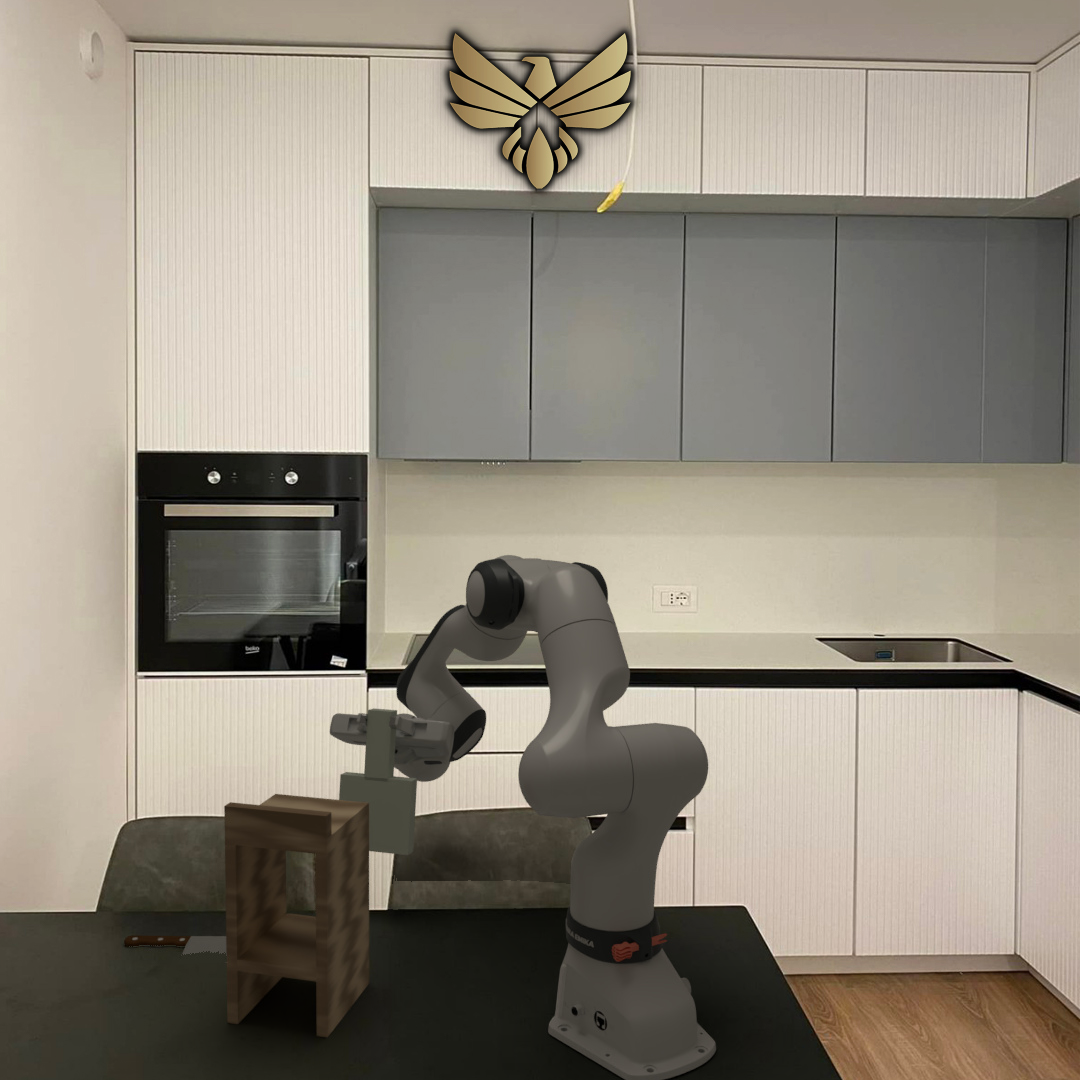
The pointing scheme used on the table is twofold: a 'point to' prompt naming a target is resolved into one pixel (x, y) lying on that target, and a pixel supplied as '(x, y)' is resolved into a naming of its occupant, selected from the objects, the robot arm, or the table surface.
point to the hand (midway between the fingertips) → (377, 719)
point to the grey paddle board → (383, 789)
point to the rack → (289, 939)
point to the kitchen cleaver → (181, 942)
